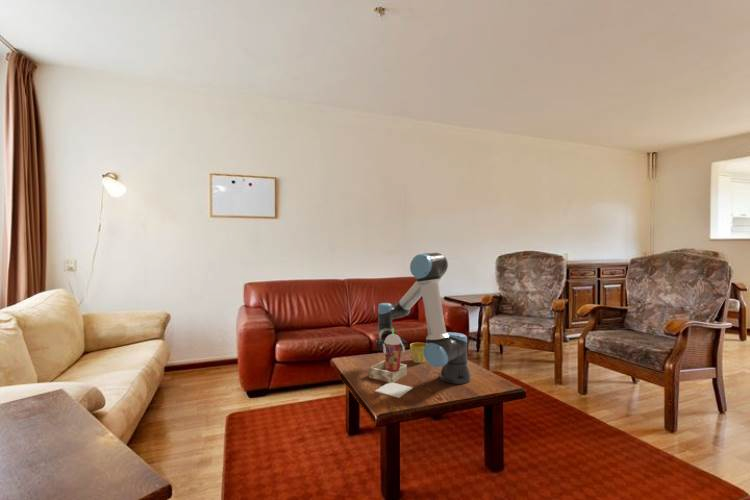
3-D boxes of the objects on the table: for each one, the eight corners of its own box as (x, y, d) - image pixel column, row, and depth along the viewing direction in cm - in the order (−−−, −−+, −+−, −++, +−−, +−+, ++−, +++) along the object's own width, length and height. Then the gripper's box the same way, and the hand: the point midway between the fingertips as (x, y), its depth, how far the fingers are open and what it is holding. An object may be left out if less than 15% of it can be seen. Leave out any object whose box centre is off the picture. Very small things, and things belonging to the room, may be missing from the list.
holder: (407, 374, 195) (406, 364, 195) (392, 383, 184) (392, 373, 183) (384, 369, 204) (383, 360, 203) (369, 377, 192) (368, 367, 191)
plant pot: (409, 358, 221) (409, 342, 221) (426, 358, 221) (426, 342, 221) (410, 364, 211) (410, 347, 210) (429, 364, 211) (428, 347, 210)
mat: (412, 388, 177) (412, 387, 177) (399, 397, 166) (399, 397, 166) (389, 382, 184) (389, 381, 184) (374, 391, 173) (374, 390, 173)
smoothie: (401, 367, 179) (402, 326, 178) (401, 373, 171) (401, 330, 170) (384, 366, 180) (384, 325, 179) (383, 373, 172) (383, 330, 171)
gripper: (407, 343, 194) (416, 357, 171) (367, 344, 192) (371, 359, 169) (407, 329, 194) (416, 341, 171) (367, 330, 192) (371, 342, 169)
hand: (394, 350), depth 170 cm, fingers closed on smoothie, 8 cm apart
